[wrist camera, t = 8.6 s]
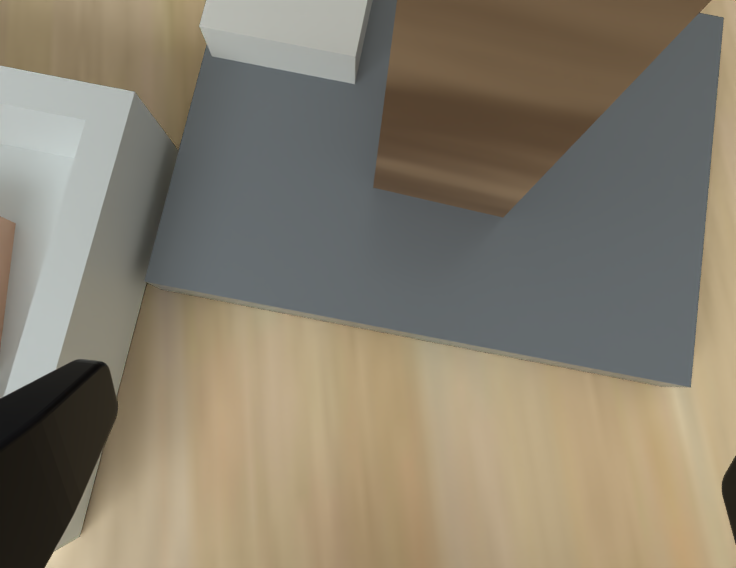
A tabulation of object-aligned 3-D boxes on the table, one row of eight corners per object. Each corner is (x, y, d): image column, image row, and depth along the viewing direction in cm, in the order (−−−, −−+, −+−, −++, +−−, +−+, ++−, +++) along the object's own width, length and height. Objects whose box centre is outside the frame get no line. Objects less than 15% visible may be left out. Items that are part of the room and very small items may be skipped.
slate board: (661, 386, 18) (690, 387, 16) (161, 289, 18) (144, 281, 16) (695, 44, 20) (723, 17, 18) (247, -43, 20) (238, -77, 18)
